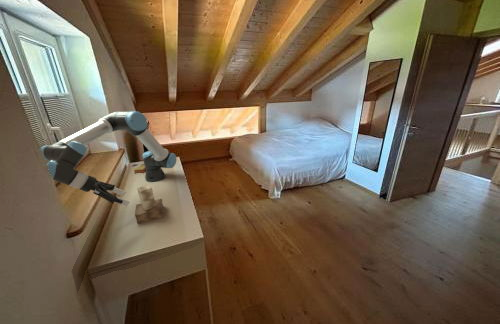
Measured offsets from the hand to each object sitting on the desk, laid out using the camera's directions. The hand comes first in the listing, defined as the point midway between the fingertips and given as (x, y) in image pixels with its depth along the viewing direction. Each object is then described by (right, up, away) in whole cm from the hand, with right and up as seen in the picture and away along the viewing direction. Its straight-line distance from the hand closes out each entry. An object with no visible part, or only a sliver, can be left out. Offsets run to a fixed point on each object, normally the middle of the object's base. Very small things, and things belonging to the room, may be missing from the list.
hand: (126, 198), depth 115 cm
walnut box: (+9, -11, +10) cm, 18 cm away
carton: (-30, +12, +78) cm, 84 cm away
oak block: (+9, -6, +8) cm, 13 cm away
